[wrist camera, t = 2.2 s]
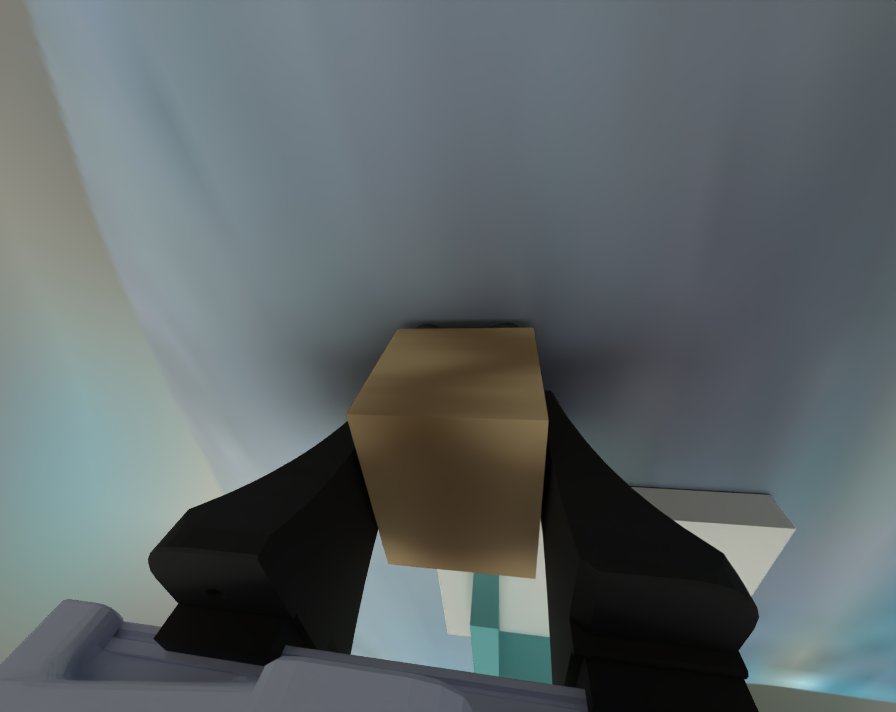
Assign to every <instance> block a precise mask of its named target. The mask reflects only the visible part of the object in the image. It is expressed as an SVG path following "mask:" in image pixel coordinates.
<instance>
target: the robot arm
mask: <svg viewBox="0 0 896 712" xmlns="http://www.w3.org/2000/svg"><path fill="white" fill-rule="evenodd" d="M544 395H545V401H546V407H547V413H548V420H549V422H548V434H547V446H546V459H545V471H544V483H543V495H542V507H541V519H540V520H541V526H542V534H543V545H544V559H545V573H546V587H547V602H548V618H549V634H550V652H551V670H552V684H546V683H539V682H533V681H526V680H519V679H512V678H505V677H499V676H492V675H485V674H478V673H471V672H465V671H458V670H451V669H444V668H437V667H431V666H424V665H417V664H410V663H403V662H397V661H390V660H383V659H376V658H369V657H363V656H356V655H350V654H351V649H352V644H353V639H354V633H355V628H356V623H357V618H358V613H359V608H360V604H361V599H362V594H363V590H364V585H365V581H366V576H367V572H368V568H369V564H370V560H371V555H372V551H373V547H374V543H375V539H376V536H377V532H378V526H377V522H376V519H375V515H374V512H373V508H372V505H371V501H370V497H369V494H368V490H367V487H366V483H365V480H364V476H363V473H362V469H361V466H360V462H359V459H358V455H357V452H356V448H355V444H354V441H353V437H352V434H351V430H350V427H349V423H348V421H347V422H346V423H345V424H343V425H342V426H341V427H340V428H338V429H337V430H336V431H335V432H333V433H332V434H331V435H329V436H328V437H327V438H326V439H324V440H323V441H321V442H320V443H319V444H317V445H316V446H314V447H313V448H311V449H310V450H308V451H307V452H305V453H304V454H302V455H301V456H299V457H297V458H296V459H294V460H292V461H291V462H289V463H287V464H285V465H284V466H282V467H280V468H278V469H277V470H275V471H273V472H271V473H270V474H268V475H266V476H264V477H262V478H260V479H258V480H256V481H254V482H252V483H250V484H248V485H245V486H243V487H241V488H239V489H237V490H235V491H232V492H230V493H228V494H226V495H223V496H221V497H219V498H216V499H213V500H211V501H208V502H206V503H204V504H201V505H199V506H196V507H194V508H191V509H189V510H188V511H187V512H186V513H185V514H184V515H183V516H182V518H181V519H180V520H179V521H178V522H177V523H176V524H175V526H174V527H173V528H172V529H171V530H170V531H169V532H168V533H167V535H166V536H165V537H164V538H163V539H162V540H161V541H160V543H159V544H158V545H157V546H156V547H155V548H154V549H153V551H152V552H151V553H150V555H149V558H148V563H149V567H150V570H151V572H152V573H153V575H154V576H155V578H156V579H157V580H158V581H159V582H160V583H161V584H162V586H163V587H164V588H165V589H166V590H167V591H168V592H169V593H170V595H171V596H172V597H173V598H174V599H175V600H176V601H177V603H179V604H178V605H177V606H176V608H175V609H174V611H173V612H172V614H171V615H170V616H169V617H168V619H167V620H166V622H165V623H164V624H163V626H162V627H159V626H151V625H144V624H138V623H131V622H124V621H123V618H122V617H121V616H120V614H119V613H117V612H116V611H115V610H114V609H112V608H111V607H108V606H106V605H103V604H99V603H94V602H86V601H79V600H72V599H67V600H63V601H62V602H61V603H60V604H59V605H58V606H57V607H56V608H55V609H54V610H53V611H52V612H51V613H50V614H49V615H48V617H46V618H45V619H44V620H43V622H41V623H40V624H39V626H38V627H37V628H36V629H35V630H34V631H33V632H32V633H31V634H30V635H29V636H28V637H27V638H26V639H25V640H24V641H23V642H22V643H21V644H20V645H19V646H18V647H17V648H16V649H15V650H14V651H13V652H12V653H11V654H10V655H9V656H8V657H7V658H6V659H5V660H4V661H3V662H2V663H1V664H0V712H758V709H757V707H756V705H755V703H754V700H753V698H752V696H751V694H750V692H749V689H748V687H747V685H746V683H745V680H744V679H747V678H748V677H749V676H748V670H747V668H746V666H745V664H744V661H743V659H742V657H741V655H740V653H739V651H738V650H739V649H740V648H741V646H742V645H743V644H744V642H745V641H746V640H747V638H748V637H749V636H750V634H751V633H752V631H753V630H754V628H755V626H756V623H757V621H758V619H759V614H758V609H757V606H756V605H755V603H754V601H753V599H752V597H751V596H750V594H749V592H748V590H747V588H746V586H745V585H744V583H743V582H742V580H741V578H740V577H739V575H738V574H737V572H736V571H735V569H734V568H733V566H732V565H731V564H730V562H729V561H728V559H727V558H726V556H725V554H724V553H722V552H721V551H719V550H718V549H716V548H715V547H713V546H712V545H710V544H708V543H707V542H705V541H704V540H702V539H701V538H699V537H698V536H696V535H695V534H693V533H691V532H690V531H688V530H687V529H685V528H684V527H682V526H681V525H679V524H678V523H677V522H675V521H674V520H672V519H671V518H670V517H668V516H667V515H666V514H664V513H663V512H661V511H660V510H659V509H657V508H656V507H655V506H653V505H652V504H651V503H650V502H648V501H647V500H646V499H645V498H644V497H642V496H641V495H640V494H639V493H638V492H636V491H635V490H634V489H633V488H632V487H630V486H629V485H628V484H627V483H626V482H625V481H624V480H623V479H621V478H620V477H619V476H618V475H617V474H616V473H615V472H614V471H613V470H612V469H611V468H610V467H609V466H608V465H607V464H606V463H605V462H604V461H603V460H602V459H601V458H600V457H599V455H598V454H597V453H596V452H595V451H594V450H593V449H592V448H591V446H590V445H589V444H588V443H587V442H586V440H585V439H584V438H583V437H582V436H581V434H580V433H579V432H578V430H577V429H576V428H575V426H574V425H573V424H572V422H571V421H570V420H569V418H568V417H567V415H566V414H565V412H564V411H563V409H562V408H561V406H560V405H559V403H558V401H557V400H556V398H555V396H554V394H553V393H552V392H551V391H544Z"/></svg>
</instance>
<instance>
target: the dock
mask: <svg viewBox="0 0 896 712" xmlns="http://www.w3.org/2000/svg"><path fill="white" fill-rule="evenodd" d="M632 488H633V489H634V490H635V491H636V492H638V493H639V494H640V495H641V496H642V497H644V498H645V499H646V500H647V501H648V502H650V503H651V504H652V505H653V506H655V507H656V508H657V509H659V510H660V511H661V512H663V513H664V514H666V515H667V516H668V517H670V518H671V519H672V520H674V521H675V522H677V523H678V524H679V525H681V526H682V527H684V528H685V529H687V530H688V531H690V532H691V533H693V534H695V535H696V536H698V537H699V538H701V539H702V540H704V541H705V542H707V543H708V544H710V545H712V546H713V547H715V548H716V549H718V550H719V551H721V552H722V553H724V554H725V556H726V558H727V559H728V561H729V562H730V564H731V565H732V566H733V568H734V569H735V571H736V572H737V574H738V575H739V577H740V578H741V580H742V582H743V583H744V585H745V586H746V588H747V590H748V592H749V594H750V596H752V595H753V593H754V592H755V590H756V589H757V587H758V586H759V584H760V583H761V581H762V580H763V578H764V577H765V575H766V574H767V572H768V571H769V569H770V568H771V566H772V565H773V563H774V562H775V560H776V559H777V557H778V556H779V554H780V553H781V551H782V550H783V548H784V547H785V545H786V544H787V542H788V541H789V539H790V538H791V536H792V535H793V533H794V532H795V530H796V528H795V527H794V526H793V524H792V523H791V522H790V520H789V519H788V518H787V516H786V515H785V514H784V513H783V511H782V510H781V509H780V507H779V506H778V505H777V503H776V502H775V501H774V500H773V498H772V497H771V496H770V495H761V494H744V493H727V492H710V491H692V490H675V489H658V488H641V487H632ZM437 571H438V577H439V584H440V590H441V596H442V602H443V608H444V614H445V620H446V626H447V632H448V634H452V635H460V636H467V637H471V643H472V653H473V664H474V673H478V674H485V675H492V676H499V677H505V678H512V679H519V680H526V681H533V682H539V683H546V684H552V670H551V652H550V634H549V618H548V602H547V587H546V573H545V559H544V545H543V534H542V526H541V520H540V531H539V543H538V555H537V567H536V579H531V578H521V577H511V576H501V575H492V574H482V573H472V572H462V571H452V570H442V569H437Z"/></svg>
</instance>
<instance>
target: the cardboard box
mask: <svg viewBox="0 0 896 712" xmlns="http://www.w3.org/2000/svg"><path fill="white" fill-rule="evenodd" d="M346 416H347V420H348V423H349V427H350V430H351V434H352V437H353V441H354V444H355V448H356V452H357V455H358V459H359V462H360V466H361V469H362V473H363V476H364V480H365V483H366V487H367V490H368V494H369V497H370V501H371V505H372V508H373V512H374V515H375V519H376V522H377V526H378V529H379V533H380V536H381V540H382V543H383V547H384V550H385V554H386V558H387V561H388V564H393V565H403V566H413V567H423V568H432V569H442V570H452V571H462V572H472V573H482V574H492V575H501V576H511V577H521V578H531V579H536V567H537V555H538V543H539V531H540V519H541V507H542V495H543V483H544V471H545V459H546V446H547V434H548V422H549V420H548V413H547V407H546V401H545V395H544V389H543V382H542V376H541V370H540V364H539V357H538V351H537V345H536V339H535V332H534V328H520V327H519V326H517V325H515V324H511V323H503V324H499V325H497V326H495V327H494V328H446V329H440V328H439V327H437V326H435V325H431V324H424V325H420V326H418V327H417V328H415V329H397V331H396V332H395V334H394V336H393V337H392V339H391V341H390V342H389V344H388V346H387V347H386V349H385V351H384V352H383V354H382V355H381V357H380V359H379V360H378V362H377V364H376V365H375V367H374V369H373V370H372V372H371V374H370V375H369V377H368V379H367V380H366V382H365V384H364V385H363V387H362V389H361V390H360V392H359V394H358V395H357V397H356V398H355V400H354V402H353V403H352V405H351V407H350V408H349V410H348V412H347V413H346Z"/></svg>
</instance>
